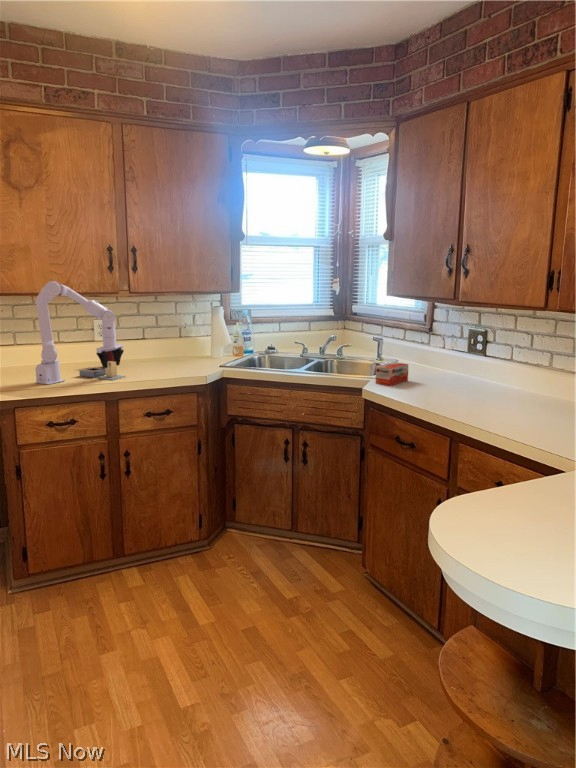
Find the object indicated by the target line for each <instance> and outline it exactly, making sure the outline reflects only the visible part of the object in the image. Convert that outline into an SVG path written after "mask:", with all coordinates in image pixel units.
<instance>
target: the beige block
mask: <svg viewBox="0 0 576 768" xmlns="http://www.w3.org/2000/svg"><path fill="white" fill-rule="evenodd" d="M117 371H118V370H117V365H116V362H115V361H108V367H107V368H105V373H106V377H108V378H113V377H117V375H118V372H117Z"/></svg>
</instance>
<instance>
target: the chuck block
mask: <svg viewBox="0 0 576 768" xmlns="http://www.w3.org/2000/svg"><path fill="white" fill-rule="evenodd" d="M78 373H79V377H80V376H81V377H80V378H88V377H89V378H90V379H97V378H98V377H100V376H102V377H103V376H104V375H106V373H105V368H103V367H95V366H93V367H88V368H84V369H79V370H78ZM96 377H97V378H96ZM89 378H88V379H89Z"/></svg>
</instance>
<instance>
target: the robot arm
mask: <svg viewBox="0 0 576 768" xmlns="http://www.w3.org/2000/svg"><path fill="white" fill-rule="evenodd" d="M59 295H60V297H68V298H69V299H72V300H73V301H75V302H76V303H78V304H80V305H82V306H84V309H85V311H86V312H87V313H88V314H91V315H93V316H94V317H95V318H97V319H100V320H101V323H102V324H101V330H102V331H101V332H102V333H101V335H102V346H100V347H98V348H96V355H97V357H98V358H99V361H100V363H102V364H101V366H102V368H107V367H108V355H109V353H106V351H112V353H113V356H114V361H115V362H116V366H120V364H121V358H122V357H123V356H122V355H123V354H124V345H123V344H121V343H120V344H117V336H116V326H115V325H116V323H115V320H116V315H115V313H114V312H113V311H112V310H111V309H108V307H107V306H104V305H102V304H100V303H99V301H98V300H97V299H95V300H94V299H89V300H88V299H87V298H86V297H84V296H82V295H81V294H80V293H77V291H75V290H73V289H72V288H70V287H69V286H66V285H64V284H62V283H61V284H60V283H59V282H58V281H56V280H49V281H48V282H47V283H46V284H45V285H44V286H42V288H41V290H40V291H39V293H38V294H37V297H36V299H35V303H36V305H35V306H36V311H37V313H36V314H37V318H38V319H37V320H38V326H39V330H40V337H41V338H40V339H41V345H42V346H41V347H42V351H41V359H42V360H40V364H37V365H36V367H35V376H36V379H35V380H36V381H35V384H40V385H41V384H42V385H52V384H57V383H60V382H61V383H62V382H65V381H66V380H65V379H63V378H62V379H61V369H60V360H59V359H58V351H57V348H56V347H55V342H54V338H53V332H52V325H51V319H50V311H49V303H50V302H51V301H52V300H53V299H54V298H55V297H58V296H59ZM108 349H110V350H108Z"/></svg>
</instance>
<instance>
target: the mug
mask: <svg viewBox="0 0 576 768" xmlns="http://www.w3.org/2000/svg"><path fill="white" fill-rule="evenodd" d="M108 350H110V349H108ZM106 353H109V355H108V361H114V356H113V353H112V351H106ZM100 363H101V362H100ZM101 365H102V363H101Z"/></svg>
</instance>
